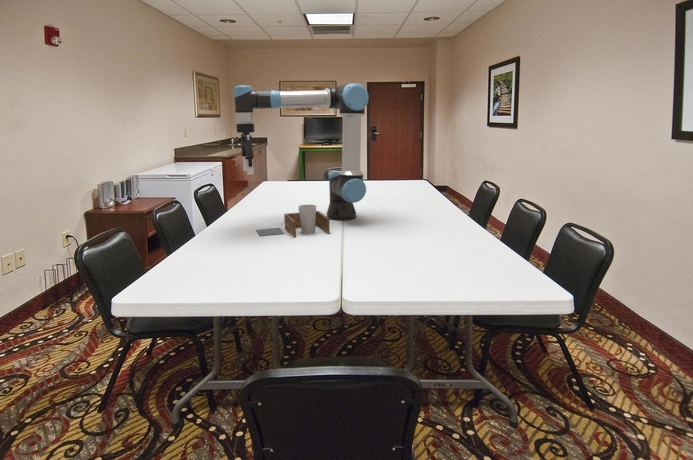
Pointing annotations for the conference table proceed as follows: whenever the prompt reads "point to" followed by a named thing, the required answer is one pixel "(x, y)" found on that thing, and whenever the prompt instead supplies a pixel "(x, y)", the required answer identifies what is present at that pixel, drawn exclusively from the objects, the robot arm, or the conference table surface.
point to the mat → (269, 231)
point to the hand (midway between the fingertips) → (248, 172)
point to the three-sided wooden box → (294, 222)
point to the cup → (307, 218)
